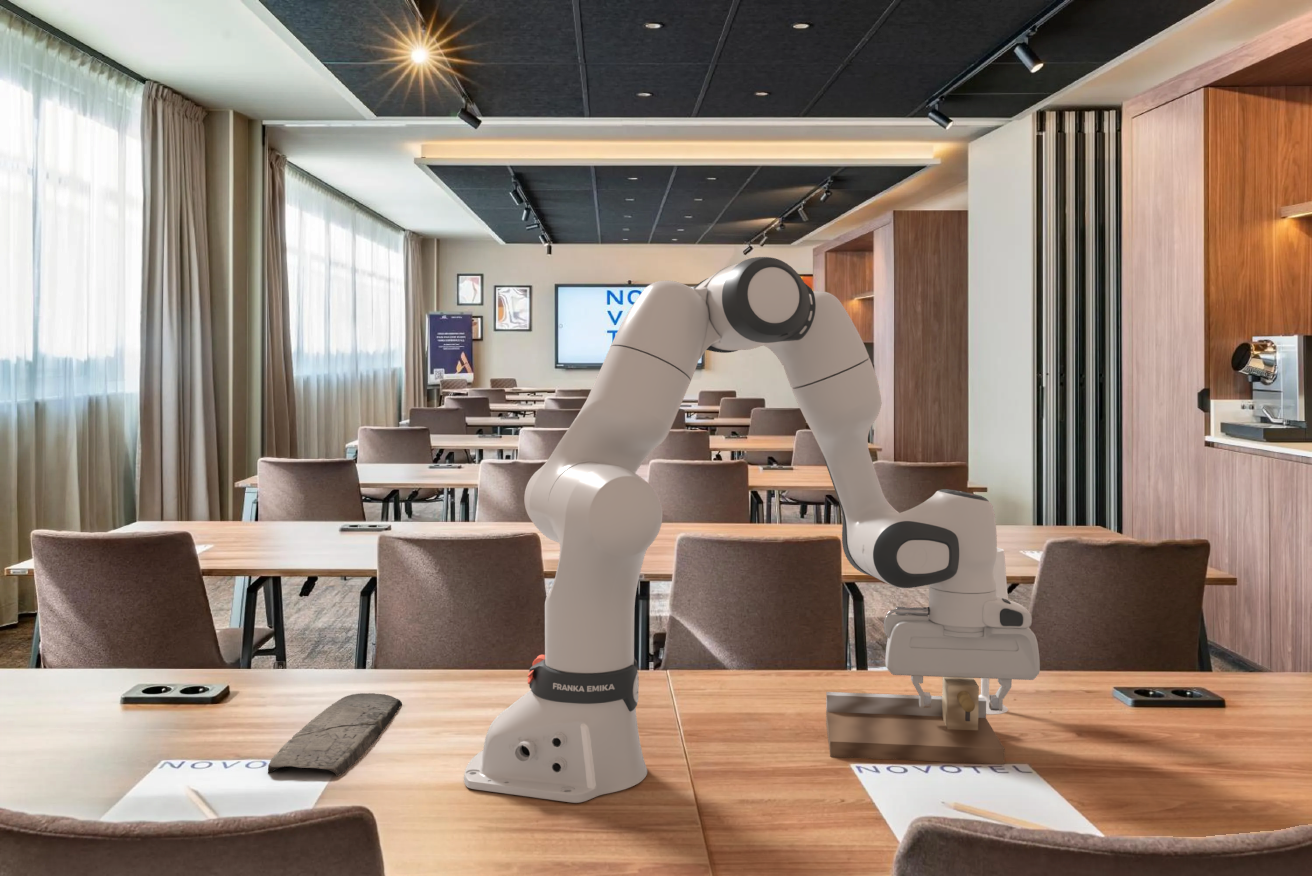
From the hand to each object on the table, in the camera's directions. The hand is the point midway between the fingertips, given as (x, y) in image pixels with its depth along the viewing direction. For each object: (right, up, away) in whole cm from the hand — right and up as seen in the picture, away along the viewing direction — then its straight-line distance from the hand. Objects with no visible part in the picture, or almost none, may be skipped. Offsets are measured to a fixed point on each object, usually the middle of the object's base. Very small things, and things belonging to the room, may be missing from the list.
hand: (960, 708), depth 142 cm
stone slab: (-85, -5, +1) cm, 85 cm away
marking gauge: (0, -2, -2) cm, 3 cm away
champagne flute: (+8, -4, +14) cm, 16 cm away
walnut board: (-7, -4, -1) cm, 9 cm away
